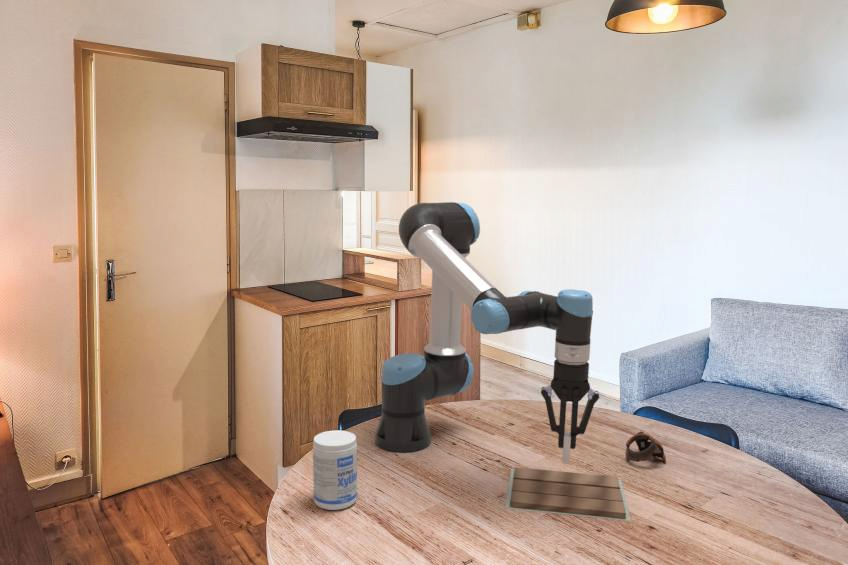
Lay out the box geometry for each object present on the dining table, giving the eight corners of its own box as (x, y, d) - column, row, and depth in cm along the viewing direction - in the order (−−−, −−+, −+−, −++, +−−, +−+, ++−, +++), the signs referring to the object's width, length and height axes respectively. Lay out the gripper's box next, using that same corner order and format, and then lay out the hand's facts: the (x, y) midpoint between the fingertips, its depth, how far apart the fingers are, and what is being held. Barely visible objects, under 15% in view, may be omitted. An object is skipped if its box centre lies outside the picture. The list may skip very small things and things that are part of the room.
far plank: (513, 482, 151) (513, 477, 150) (514, 471, 156) (514, 467, 156) (619, 492, 146) (620, 487, 146) (617, 481, 152) (617, 476, 152)
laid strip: (510, 506, 139) (510, 501, 139) (511, 495, 144) (511, 490, 144) (625, 518, 134) (625, 513, 134) (623, 507, 139) (623, 501, 139)
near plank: (511, 495, 144) (511, 490, 144) (513, 483, 150) (513, 479, 150) (622, 506, 140) (623, 501, 139) (620, 494, 145) (620, 489, 145)
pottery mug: (674, 471, 160) (663, 447, 157) (637, 484, 162) (626, 460, 159) (659, 441, 171) (648, 418, 168) (625, 454, 173) (614, 431, 170)
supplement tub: (346, 515, 136) (345, 448, 134) (305, 508, 139) (304, 443, 137) (364, 494, 145) (363, 432, 143) (325, 488, 148) (324, 427, 146)
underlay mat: (505, 509, 139) (505, 507, 139) (510, 470, 158) (510, 469, 158) (630, 522, 134) (630, 520, 134) (620, 481, 153) (621, 479, 153)
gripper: (541, 362, 139) (536, 465, 143) (603, 367, 137) (596, 471, 141) (542, 353, 147) (537, 451, 150) (601, 357, 144) (594, 457, 148)
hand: (565, 461), depth 146 cm, fingers closed
